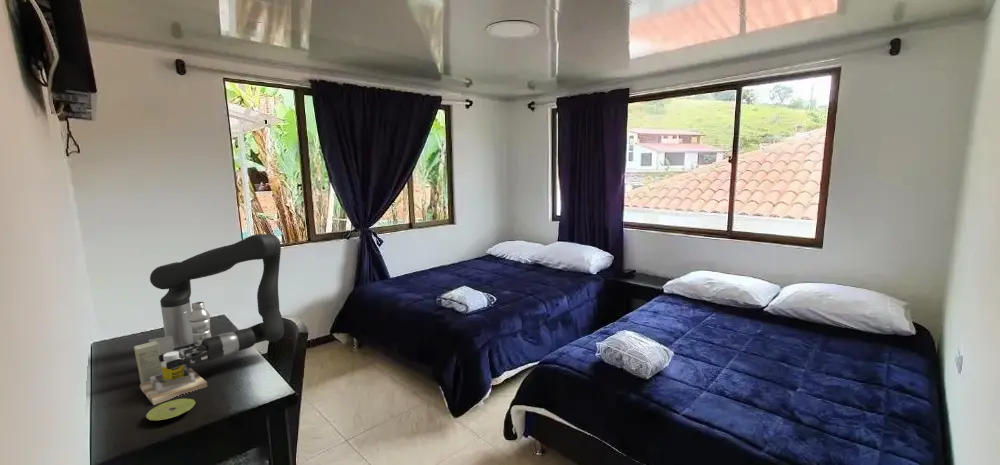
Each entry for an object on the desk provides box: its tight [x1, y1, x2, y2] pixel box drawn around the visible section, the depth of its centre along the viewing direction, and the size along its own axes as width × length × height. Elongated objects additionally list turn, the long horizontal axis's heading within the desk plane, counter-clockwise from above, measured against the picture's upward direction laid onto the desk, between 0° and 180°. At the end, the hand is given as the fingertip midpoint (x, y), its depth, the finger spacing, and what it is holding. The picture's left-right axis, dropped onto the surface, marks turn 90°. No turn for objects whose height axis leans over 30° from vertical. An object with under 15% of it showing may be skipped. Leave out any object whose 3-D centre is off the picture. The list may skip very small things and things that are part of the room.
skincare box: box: [133, 341, 162, 384], centre depth 146 cm, size 6×4×12 cm
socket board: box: [139, 366, 208, 406], centre depth 141 cm, size 16×14×4 cm
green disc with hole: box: [145, 398, 196, 421], centre depth 125 cm, size 11×11×2 cm
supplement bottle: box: [161, 351, 184, 383], centre depth 140 cm, size 5×5×10 cm
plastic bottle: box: [189, 301, 212, 346], centre depth 165 cm, size 6×7×20 cm
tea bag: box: [148, 336, 175, 355], centre depth 158 cm, size 4×7×10 cm, turn 123°
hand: (162, 362), depth 138 cm, fingers open, 8 cm apart
